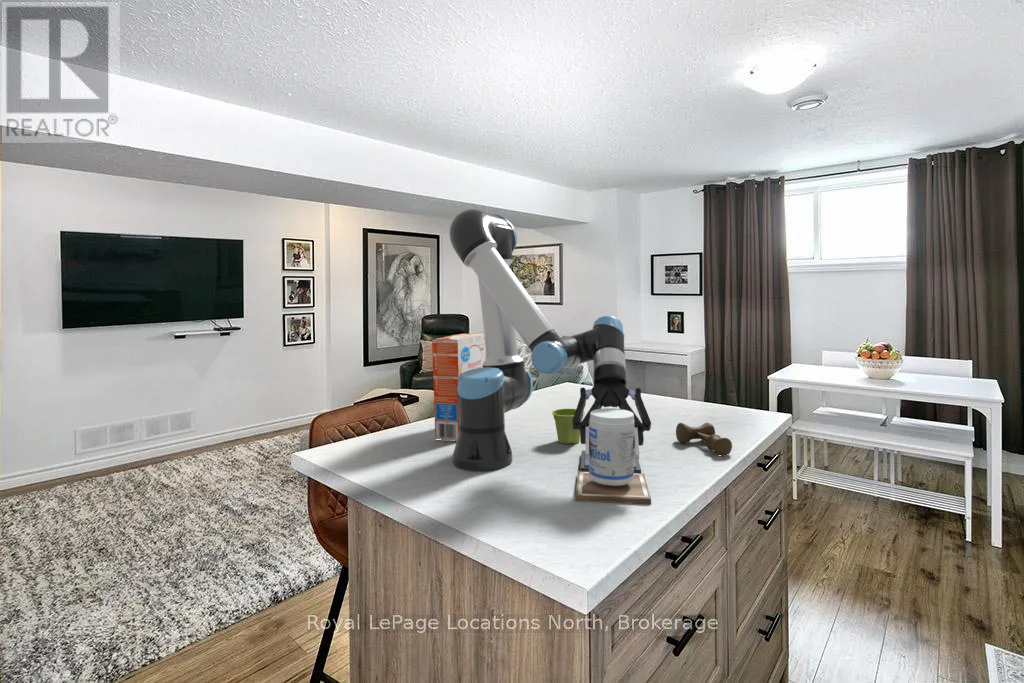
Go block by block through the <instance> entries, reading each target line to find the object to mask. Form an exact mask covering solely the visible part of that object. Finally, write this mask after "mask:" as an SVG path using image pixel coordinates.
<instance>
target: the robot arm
mask: <svg viewBox="0 0 1024 683" xmlns="http://www.w3.org/2000/svg"><path fill="white" fill-rule="evenodd" d="M449 240H450V243H451V246H452V248H453V250H454V252H455V253H456V255H457V256H458V258H459V259H460V260H461V262H462V264H463V265H464V266H465V267H466V268H469V269H472V270H473V272H474V273H475V274H476V276H477V280H478V288H479V298H480V299H479V300H480V308H481V315H482V323H483V324H482V325H483V334H484V335H485V354H486V358H485V361H484V363H483V364H482V366H483V368H477V369H471V370H468V371H466V372H464V373H462V374H461V375H460V376H459V379H458V388H457V392H458V409H459V435H458V439H457V442H456V443H455V445H454V449H453V453H452V463H453V466H455V467H457V468H459V469H463V470H467V471H491V470H492V471H493V470H497V469H502V468H505V467H508V466H509V465H510V464H511V463H512V462H513V451H512V448H511V445H510V441H509V440H508V436H507V433H506V428H505V427H506V426H505V425H506V424H505V423H506V422H505V420H506V419H505V413H508V412H509V411H512V410H516V409H518V408H520V407H521V406H523V405H524V404H525V403H527V401H528V400H529V399H530V397H531V395H532V393H533V388H534V382H533V378H532V375H531V373H530V372H529V371H528V370H527V369H526V366H525V361H524V358H523V357H521V355H519V354H518V353H519V352H518V345H517V344H518V343H517V335H516V333H518V335H519V336H520V337H521V339H522V341H523V342H524V344H525V345H526V346H527V347H528V348H529V350H530V353H531V355H530V358H531V360H530V361H531V364H532V366H533V367H534V369H535V370H537V371H538V372H539V373H541V374H545V375H550V374H557V373H560V372H562V371H564V370H566V369H569V368H571V367H575V366H578V365H581V364H585V363H588V362H591V361H593V386H592V388H591V389H586V388H585V387H580V389H579V393H580V397H579V400H578V404H577V406H576V408H575V409H576V411H575V414H574V417H573V420H572V426H573V429H578V430H580V440H579V442H580V444H581V445H585V451H586V452H585V454H586V460H589V421H590V412H591V411H593V410H596V409H603V408H610V407H611V408H618V409H623V410H627V411H630V412H632V413H633V414H634V453H635V461H639V462H640V447H641V446H644V439H645V438H644V432H649V431H651V428H652V421H651V419H650V418H651V417H650V416H649V413H648V411H647V408H646V407H645V404H644V402H643V399H642V396H641V395H642V389H641V388H640V387H637V388H635V390H634V389H629V388H628V385H627V371H626V355H625V334H624V326H623V323H622V321H621V320H620V319H619V318H618V317H615V316H613V315H612V316H611V315H603V316H600V317H598V318H597V319H596V320H595V321H594V322H593V326H592V329H589V330H587V331H584V332H580V333H577V334H574V335H569V336H566V337H562V338H561V337H560V336H559V334H558V333H557V332H556V330H555V329H554V327H553V325H551V323H550V322H549V320H548V319H547V317H546V316H545V315H544V314H543V312H542V311H541V309H540V308H539V306H538V305H537V304H536V303H535V300H533V298H532V297H531V296H530V294H529V293H528V291H527V290H526V288H525V287H524V286H523V285H522V283H521V282H520V280H519V278H517V276H516V275H515V273H513V271H512V269H511V268H510V266H511V265H512V264H513V262H514V256H513V253H514V251H515V249H516V248H517V244H518V233H517V231H516V228H515V226H514V225H513V224H512V223H511V221H510V220H508V219H506V218H505V217H503V216H501V215H499V214H496V213H489V212H486V211H482V210H479V209H473V208H471V209H466V210H463V211H461V212H459V213H458V214H457V215H456V216H455V217H454V218H453V220H452V222H451V224H450V227H449ZM590 396H592V397H593V398H594V402H593V404H592V405H591V407H590V408H589V410H588V411H587V413H585V414H586V415H584V416H583V419H582V422H580V420H581V417H582V414H583V411H584V412H585V407H586V404H587V400H589V399H590ZM629 396H630V398H631V399H632V401H634V404H635V407H636V410H637V413H638V415H639V417H640V418H639V417H638V416H637V414H636V412H634V410H633V409H632V407H631V406H630V405H629V403H628V400H627V398H628V397H629Z"/></svg>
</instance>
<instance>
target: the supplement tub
mask: <svg viewBox="0 0 1024 683" xmlns="http://www.w3.org/2000/svg"><path fill="white" fill-rule="evenodd" d="M633 470H634V414H633V413H632V412H630V411H627V410H623V409H620V408H614V407H611V408H610V407H603V408H601V409H596V410H593V411H591V412H590V421H589V477H590V478H591V479H592V480H593V481H594V482H596V483H599V484H602V485H610V486H620V485H625V484H628V483H630V482H631V481H632V480H633Z"/></svg>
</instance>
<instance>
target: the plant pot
mask: <svg viewBox="0 0 1024 683" xmlns="http://www.w3.org/2000/svg"><path fill="white" fill-rule="evenodd" d="M575 411H576V408H558V409H555V410H552V411H551V414H552V415H553V419H554V424H555V429H556V436H557V442H559V443H560V444H563V443H565V445H570V444H578V443H579V442H580V430H578V429H573V426H572V420H573V417H574V414H575ZM585 414H586V412H585V410H584V411H583V414H582V417H581V420H580V422H582V420H583V419H584V416H585Z"/></svg>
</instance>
